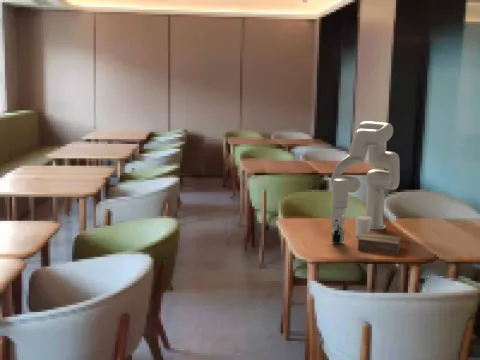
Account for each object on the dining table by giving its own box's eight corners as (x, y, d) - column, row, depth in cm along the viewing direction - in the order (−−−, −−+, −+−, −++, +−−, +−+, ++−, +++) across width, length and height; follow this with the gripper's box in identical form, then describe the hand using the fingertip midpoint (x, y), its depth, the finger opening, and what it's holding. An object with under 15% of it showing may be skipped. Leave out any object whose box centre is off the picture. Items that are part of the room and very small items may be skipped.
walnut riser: (363, 242, 284) (363, 232, 283) (400, 246, 278) (401, 236, 277) (357, 249, 271) (358, 239, 271) (397, 254, 265) (397, 244, 264)
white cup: (358, 239, 290) (359, 219, 288) (352, 234, 297) (353, 215, 296) (372, 238, 291) (374, 219, 289) (366, 234, 299) (367, 215, 297)
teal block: (333, 239, 283) (334, 229, 282) (343, 240, 282) (344, 230, 281) (331, 242, 279) (331, 232, 278) (341, 243, 277) (342, 233, 276)
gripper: (335, 199, 286) (333, 235, 289) (327, 206, 270) (325, 244, 274) (350, 201, 283) (348, 237, 287) (343, 208, 268) (341, 246, 271)
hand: (337, 240), depth 280 cm, fingers closed on teal block, 4 cm apart
